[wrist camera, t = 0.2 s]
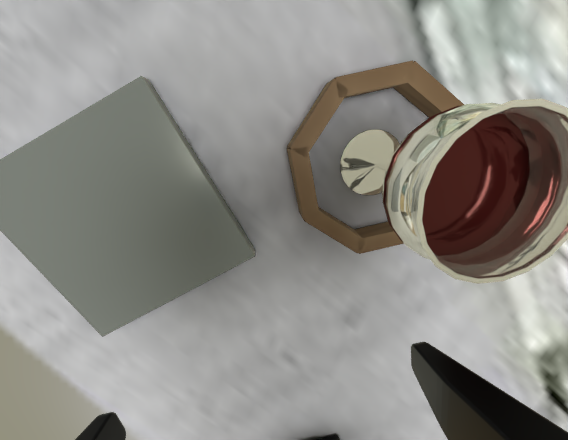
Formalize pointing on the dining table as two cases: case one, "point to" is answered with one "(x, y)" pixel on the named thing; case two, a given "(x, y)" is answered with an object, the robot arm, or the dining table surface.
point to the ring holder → (399, 76)
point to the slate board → (118, 209)
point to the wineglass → (472, 186)
